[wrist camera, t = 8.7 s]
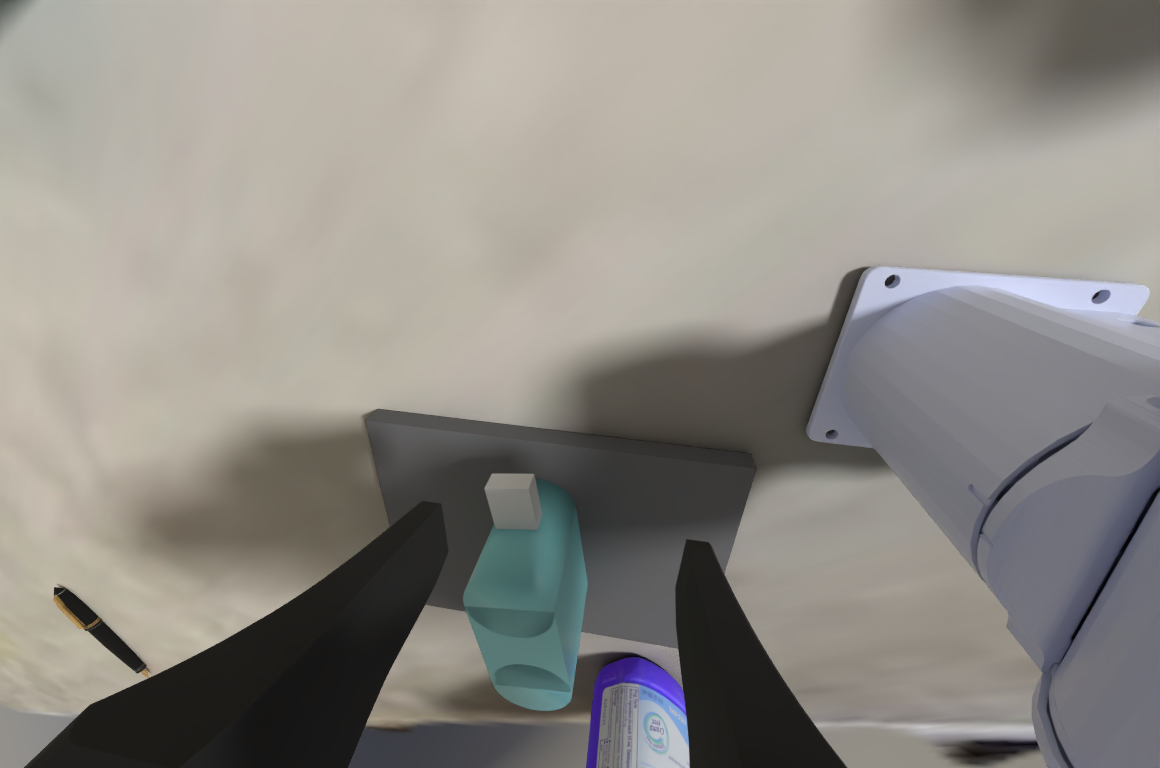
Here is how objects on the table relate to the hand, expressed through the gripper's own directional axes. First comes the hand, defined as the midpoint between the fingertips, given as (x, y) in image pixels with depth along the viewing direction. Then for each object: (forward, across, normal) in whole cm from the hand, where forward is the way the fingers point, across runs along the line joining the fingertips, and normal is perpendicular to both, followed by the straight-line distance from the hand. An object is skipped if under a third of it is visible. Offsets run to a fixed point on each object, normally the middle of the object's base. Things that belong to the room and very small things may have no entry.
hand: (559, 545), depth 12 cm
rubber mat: (+9, +2, +10) cm, 14 cm away
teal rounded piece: (+8, +2, +9) cm, 12 cm away
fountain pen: (+10, +46, +33) cm, 58 cm away
